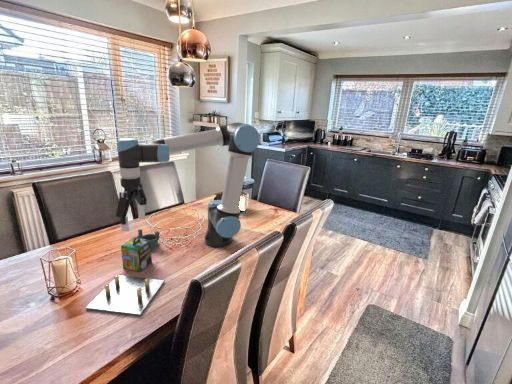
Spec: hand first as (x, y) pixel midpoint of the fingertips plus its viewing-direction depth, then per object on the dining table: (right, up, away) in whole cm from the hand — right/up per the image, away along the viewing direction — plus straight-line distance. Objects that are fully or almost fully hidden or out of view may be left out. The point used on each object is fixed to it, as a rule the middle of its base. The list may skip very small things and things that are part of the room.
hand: (134, 224), depth 121 cm
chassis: (+4, -26, -14) cm, 29 cm away
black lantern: (+33, +2, +82) cm, 88 cm away
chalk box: (-1, -20, +6) cm, 20 cm away
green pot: (-2, -14, +23) cm, 27 cm away
